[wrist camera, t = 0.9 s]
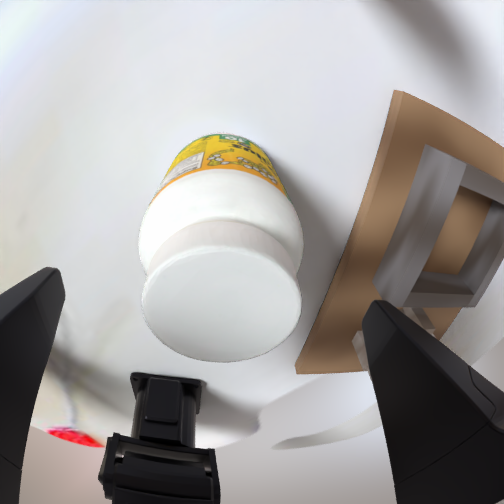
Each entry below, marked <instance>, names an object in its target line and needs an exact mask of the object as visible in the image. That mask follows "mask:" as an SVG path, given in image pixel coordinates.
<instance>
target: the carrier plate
mask: <svg viewBox="0 0 504 504" xmlns="http://www.w3.org/2000/svg"><path fill="white" fill-rule="evenodd" d="M503 258H504V148H503V147H502V146H500V145H499V144H498V143H496V142H495V141H493V140H492V139H490V138H489V137H487V136H486V135H484V134H482V133H481V132H479V131H478V130H476V129H474V128H473V127H471V126H469V125H468V124H466V123H464V122H463V121H461V120H459V119H457V118H456V117H454V116H452V115H450V114H448V113H447V112H445V111H443V110H441V109H439V108H437V107H435V106H433V105H431V104H429V103H427V102H425V101H423V100H421V99H419V98H417V97H415V96H412V95H410V94H408V93H406V92H404V91H398V90H394V92H393V96H392V100H391V104H390V108H389V112H388V116H387V120H386V124H385V127H384V131H383V135H382V138H381V142H380V145H379V149H378V152H377V155H376V159H375V162H374V165H373V169H372V172H371V175H370V178H369V181H368V184H367V187H366V190H365V193H364V197H363V199H362V202H361V205H360V208H359V211H358V214H357V217H356V220H355V223H354V225H353V228H352V231H351V234H350V236H349V239H348V242H347V244H346V247H345V250H344V252H343V255H342V258H341V260H340V263H339V265H338V268H337V270H336V273H335V275H334V278H333V280H332V283H331V285H330V288H329V290H328V292H327V295H326V297H325V300H324V302H323V304H322V307H321V309H320V311H319V313H318V316H317V318H316V320H315V323H314V325H313V327H312V329H311V331H310V334H309V336H308V338H307V340H306V342H305V345H304V347H303V349H302V351H301V353H300V355H299V357H298V359H297V361H296V363H295V369H296V373H297V374H326V373H344V372H360V371H368V373H369V376H370V379H371V375H370V371H369V366H368V361H367V354H366V348H365V343H364V337H363V332H362V319H363V317H364V315H365V313H366V312H367V310H368V308H369V306H370V304H371V302H372V301H373V300H386V301H388V302H389V303H391V304H392V305H393V306H395V307H396V308H397V309H398V310H400V311H401V312H402V313H404V314H405V315H406V316H408V317H409V318H410V319H412V320H413V321H414V322H415V323H417V324H418V325H419V326H421V327H422V328H423V329H424V330H426V331H427V332H428V333H430V334H431V335H432V336H433V337H435V338H436V339H437V340H438V341H439V340H440V339H441V337H442V336H443V334H444V333H445V332H446V330H447V329H448V327H449V326H450V325H451V323H452V322H453V320H454V319H455V317H456V316H457V314H458V313H459V311H460V310H461V308H462V307H475V306H476V305H477V303H478V302H479V300H480V298H481V297H482V295H483V294H484V292H485V290H486V289H487V287H488V285H489V284H490V282H491V280H492V278H493V277H494V275H495V273H496V271H497V270H498V268H499V266H500V264H501V262H502V260H503ZM371 381H372V379H371Z"/></svg>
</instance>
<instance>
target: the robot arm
mask: <svg viewBox="0 0 504 504" xmlns="http://www.w3.org/2000/svg"><path fill="white" fill-rule="evenodd" d="M64 301H65V289H64V285H63V281H62V277H61V273H60V271H59V269H57V268H52V267H45V268H43V269H41V270H40V271H38V272H36V273H35V274H33V275H31V276H30V277H28V278H26V279H25V280H23V281H21V282H20V283H18V284H16V285H15V286H13V287H12V288H10V289H8V290H7V291H5V292H4V293H2V294H1V295H0V504H19V493H20V483H21V474H22V470H21V469H22V466H23V459H24V452H25V447H26V441H27V436H28V431H29V427H30V422H31V418H32V413H33V409H34V405H35V401H36V398H37V394H38V390H39V387H40V383H41V380H42V376H43V373H44V370H45V367H46V364H47V361H48V358H49V355H50V352H51V348H52V345H53V342H54V338H55V334H56V330H57V326H58V322H59V318H60V315H61V311H62V308H63V304H64ZM362 332H363V337H364V343H365V348H366V354H367V361H368V366H369V371H370V375H371V379H372V383H373V387H374V391H375V395H376V399H377V403H378V407H379V411H380V416H381V420H382V424H383V429H384V434H385V438H386V443H387V448H388V453H389V458H390V464H391V468H392V474H393V480H394V484H395V485H394V487H395V494H396V500H397V504H504V392H503V391H501V390H500V389H499V388H497V387H496V386H495V385H493V384H492V383H491V382H489V381H488V380H487V379H486V378H484V377H483V376H482V375H480V374H479V373H478V372H477V371H476V370H474V369H473V368H472V367H471V366H470V365H468V364H467V363H466V362H465V361H463V360H462V359H461V358H460V357H458V356H457V355H456V354H455V353H454V352H452V351H451V350H450V349H449V348H447V347H446V346H445V345H444V344H442V343H441V342H440V341H438V340H437V339H436V338H435V337H433V336H432V335H431V334H430V333H428V332H427V331H426V330H424V329H423V328H422V327H421V326H419V325H418V324H417V323H415V322H414V321H413V320H412V319H410V318H409V317H408V316H406V315H405V314H404V313H402V312H401V311H400V310H398V309H397V308H396V307H395V306H393V305H392V304H391V303H389V302H388V301H386V300H373V301H372V302H371V304H370V306H369V308H368V310H367V312H366V313H365V315H364V317H363V319H362ZM130 380H131V384H132V388H133V392H134V395H135V399H136V405H135V411H134V418H133V425H132V432H131V437H128V436H123V435H120V434H119V433H115V432H114V434H113V437H108V438H107V445H106V451H105V455H104V458H103V462H102V465H101V468H100V472H99V475H98V480H99V481H100V483H101V484H102V485H103V490H104V492H105V498H106V499H110V500H112V504H220V496H221V495H220V483H219V477H218V470H217V463H216V456H215V449H211V448H208V449H201V448H195V422H196V414H199V409H200V398H201V388H202V383H201V382H200V381H198V380H189V379H179V378H170V377H161V376H154V375H146V374H140V373H131V376H130ZM122 455H124V457H123V458H122Z"/></svg>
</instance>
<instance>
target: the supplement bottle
mask: <svg viewBox="0 0 504 504" xmlns="http://www.w3.org/2000/svg"><path fill="white" fill-rule="evenodd" d="M138 243H139V256H140V260H141V264H142V267H143V269H144V272H145V274H146V276H147V277H146V281H145V285H144V288H143V293H142V311H143V315H144V319H145V321H146V323H147V325H148V327H149V328H150V330H151V331H152V333H153V334H154V335H155V336H156V337H157V338H158V339H159V340H160V341H161V342H162V343H163V344H165V345H166V346H167V347H169V348H170V349H172V350H174V351H175V352H177V353H179V354H182V355H184V356H187V357H190V358H193V359H197V360H202V361H208V362H236V361H242V360H246V359H251V358H254V357H257V356H260V355H262V354H265V353H267V352H269V351H270V350H272V349H274V348H275V347H277V346H278V345H279V344H281V343H282V342H283V341H284V340H285V339H286V338H287V337H288V336H289V335H290V334H291V333H292V332H293V330H294V329H295V327H296V326H297V324H298V321H299V319H300V316H301V310H302V297H301V291H300V287H299V283H298V279H297V275H296V274H297V272H298V270H299V267H300V264H301V261H302V256H303V249H304V240H303V232H302V227H301V224H300V221H299V218H298V215H297V213H296V211H295V209H294V206H293V204H292V202H291V201H290V198H289V197H288V194H287V192H286V190H285V188H284V187H283V185H282V183H281V181H280V179H279V177H278V175H277V173H276V171H275V170H274V168H273V166H272V164H271V162H270V160H269V159H268V157H267V156H266V154H265V153H264V151H263V150H262V149H261V148H260V147H259V146H258V145H256V144H255V143H254V142H252V141H251V140H249V139H247V138H244V137H242V136H238V135H234V134H230V133H210V134H206V135H203V136H201V137H198V138H196V139H195V140H193V141H191V142H190V143H189V144H187V145H186V146H185V147H184V148H183V149H182V150H181V151H180V153H179V154H178V155H177V157H176V158H175V160H174V161H173V163H172V165H171V166H170V168H169V170H168V172H167V174H166V175H165V177H164V179H163V181H162V183H161V184H160V186H159V188H158V190H157V192H156V194H155V195H154V197H153V199H152V201H151V203H150V205H149V207H148V209H147V211H146V213H145V216H144V218H143V220H142V224H141V228H140V232H139V242H138Z"/></svg>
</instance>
